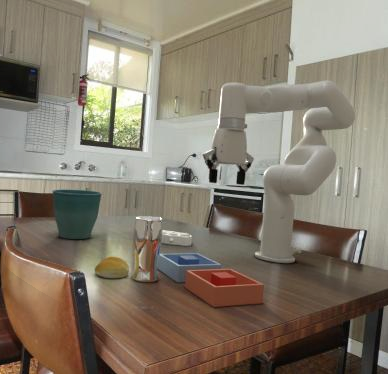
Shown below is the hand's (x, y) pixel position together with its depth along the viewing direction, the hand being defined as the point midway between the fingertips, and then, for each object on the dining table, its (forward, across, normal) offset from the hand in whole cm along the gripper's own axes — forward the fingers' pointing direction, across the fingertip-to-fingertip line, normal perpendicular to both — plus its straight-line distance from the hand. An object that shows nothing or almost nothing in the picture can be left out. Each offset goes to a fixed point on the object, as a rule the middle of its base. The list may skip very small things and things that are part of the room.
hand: (226, 183), depth 110 cm
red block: (+24, +16, +25) cm, 38 cm away
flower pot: (+24, +36, -42) cm, 60 cm away
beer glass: (+24, +29, +11) cm, 40 cm away
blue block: (+24, +16, +9) cm, 30 cm away
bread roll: (+24, +36, +6) cm, 44 cm away
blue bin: (+24, +16, +9) cm, 30 cm away
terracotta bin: (+24, +16, +25) cm, 38 cm away
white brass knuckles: (+24, +1, -33) cm, 41 cm away
